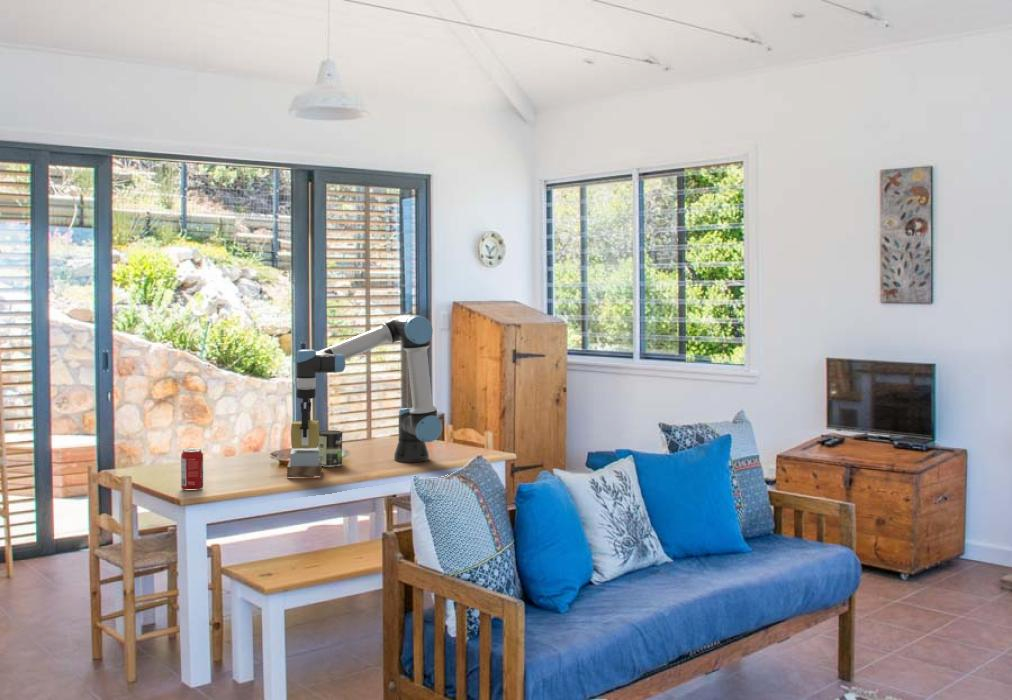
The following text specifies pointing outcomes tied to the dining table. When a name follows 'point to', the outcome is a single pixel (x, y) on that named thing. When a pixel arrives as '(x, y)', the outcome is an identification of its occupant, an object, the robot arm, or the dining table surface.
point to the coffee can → (330, 448)
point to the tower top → (304, 457)
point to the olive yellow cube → (313, 434)
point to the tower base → (304, 470)
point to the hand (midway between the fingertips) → (305, 442)
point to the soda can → (192, 469)
